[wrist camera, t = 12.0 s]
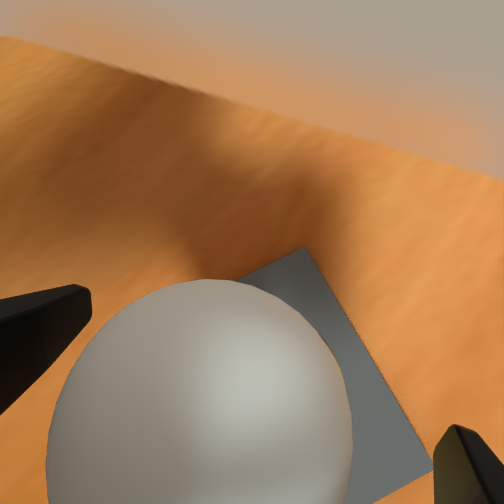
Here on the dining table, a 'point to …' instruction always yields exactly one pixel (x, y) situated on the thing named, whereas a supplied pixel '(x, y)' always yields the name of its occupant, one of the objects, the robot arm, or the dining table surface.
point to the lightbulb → (202, 406)
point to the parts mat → (351, 382)
